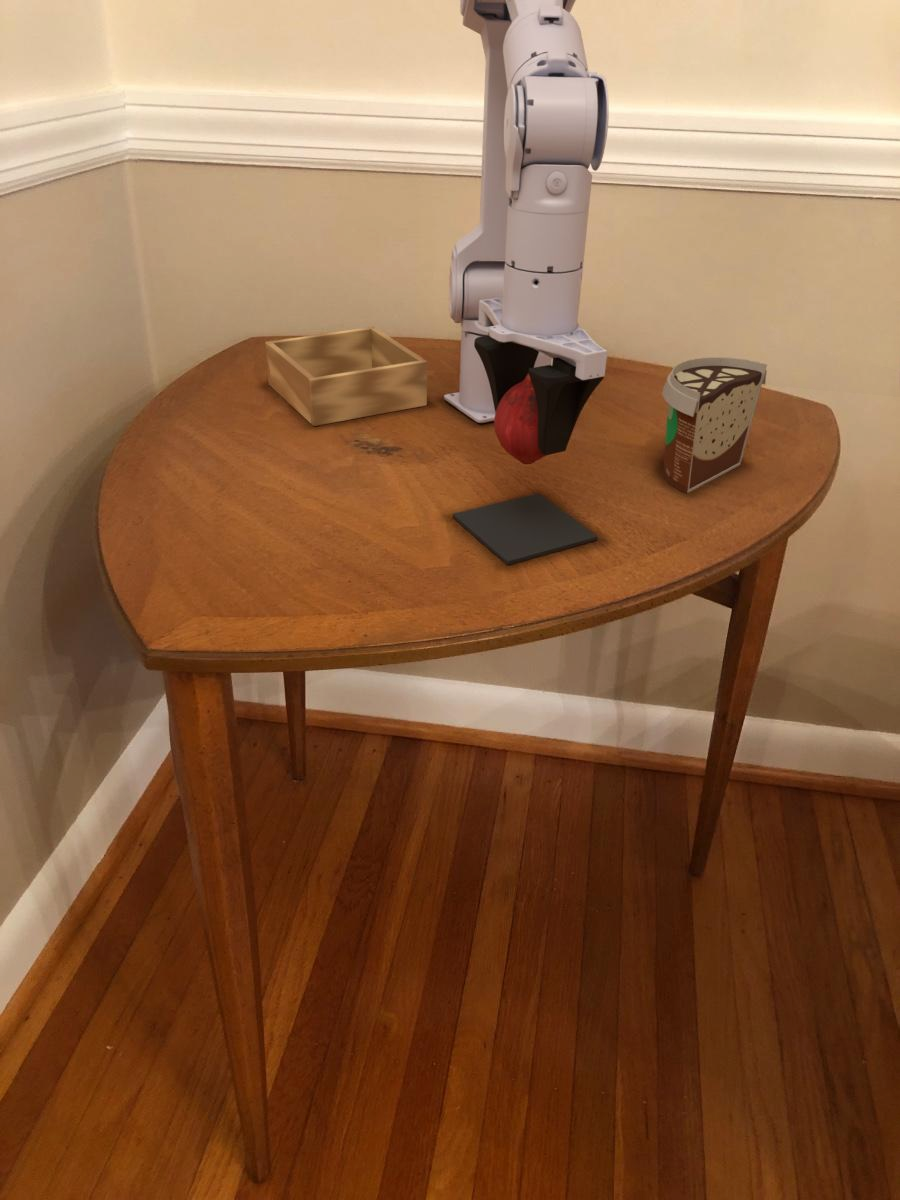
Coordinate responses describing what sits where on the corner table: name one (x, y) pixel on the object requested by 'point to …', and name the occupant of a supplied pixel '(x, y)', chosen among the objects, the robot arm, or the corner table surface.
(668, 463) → the food container
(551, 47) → the robot arm
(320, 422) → the wooden box
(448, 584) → the corner table surface
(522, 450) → the onion
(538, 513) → the mat
